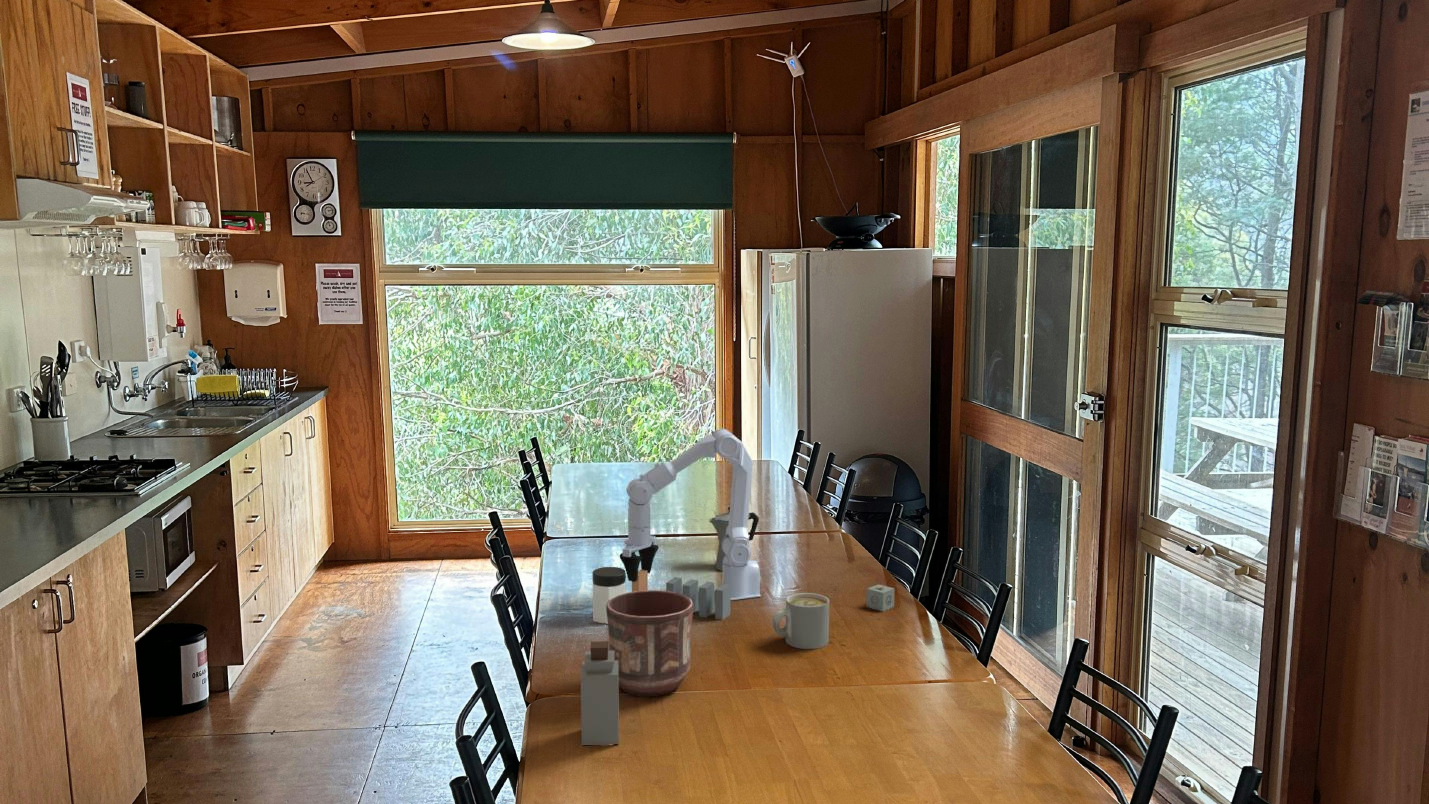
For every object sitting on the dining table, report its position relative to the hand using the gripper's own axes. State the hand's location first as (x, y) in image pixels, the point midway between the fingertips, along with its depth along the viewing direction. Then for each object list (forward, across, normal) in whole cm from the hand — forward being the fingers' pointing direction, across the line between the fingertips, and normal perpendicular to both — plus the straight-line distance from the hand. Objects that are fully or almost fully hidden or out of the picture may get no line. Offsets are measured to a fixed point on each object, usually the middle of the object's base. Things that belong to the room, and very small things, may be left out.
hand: (639, 576), depth 269 cm
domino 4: (+6, +2, +20) cm, 21 cm away
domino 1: (+6, 0, 0) cm, 6 cm away
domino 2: (+6, +2, +11) cm, 13 cm away
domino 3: (+6, +2, +16) cm, 17 cm away
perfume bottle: (+7, +71, +29) cm, 77 cm away
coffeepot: (+6, -37, +11) cm, 39 cm away
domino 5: (+6, +2, +24) cm, 25 cm away
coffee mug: (+6, +10, +48) cm, 49 cm away
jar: (+7, +15, -1) cm, 16 cm away
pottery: (+7, +47, +27) cm, 54 cm away
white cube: (+6, -20, +59) cm, 62 cm away
